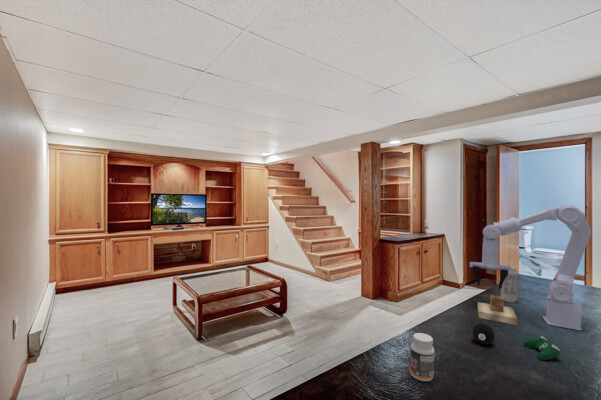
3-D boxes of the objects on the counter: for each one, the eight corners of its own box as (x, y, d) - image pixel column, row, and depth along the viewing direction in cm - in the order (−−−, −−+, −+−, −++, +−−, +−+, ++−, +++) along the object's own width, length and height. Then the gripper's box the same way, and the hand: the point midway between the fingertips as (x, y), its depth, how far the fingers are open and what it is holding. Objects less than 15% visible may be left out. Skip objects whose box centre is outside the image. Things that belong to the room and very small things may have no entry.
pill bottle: (405, 369, 78) (406, 331, 78) (426, 368, 79) (427, 331, 79) (415, 382, 73) (417, 342, 73) (438, 382, 73) (439, 342, 73)
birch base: (512, 315, 119) (512, 307, 119) (516, 326, 109) (517, 318, 109) (477, 309, 125) (477, 301, 125) (478, 319, 114) (479, 311, 114)
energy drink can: (515, 300, 136) (517, 267, 135) (517, 304, 131) (518, 270, 130) (500, 297, 139) (501, 265, 139) (500, 301, 134) (502, 268, 133)
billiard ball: (470, 343, 94) (471, 324, 94) (473, 336, 98) (474, 318, 98) (492, 350, 90) (493, 330, 90) (495, 342, 95) (496, 324, 94)
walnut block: (501, 309, 117) (502, 296, 117) (503, 312, 114) (503, 299, 114) (489, 307, 119) (490, 294, 119) (490, 310, 116) (491, 297, 116)
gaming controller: (548, 368, 84) (566, 355, 83) (537, 357, 85) (555, 344, 84) (530, 351, 93) (546, 340, 92) (520, 342, 94) (537, 330, 93)
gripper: (470, 253, 123) (469, 285, 124) (513, 257, 117) (511, 292, 117) (470, 250, 130) (468, 281, 130) (510, 254, 123) (509, 287, 123)
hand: (489, 286), depth 124 cm, fingers open, 7 cm apart
